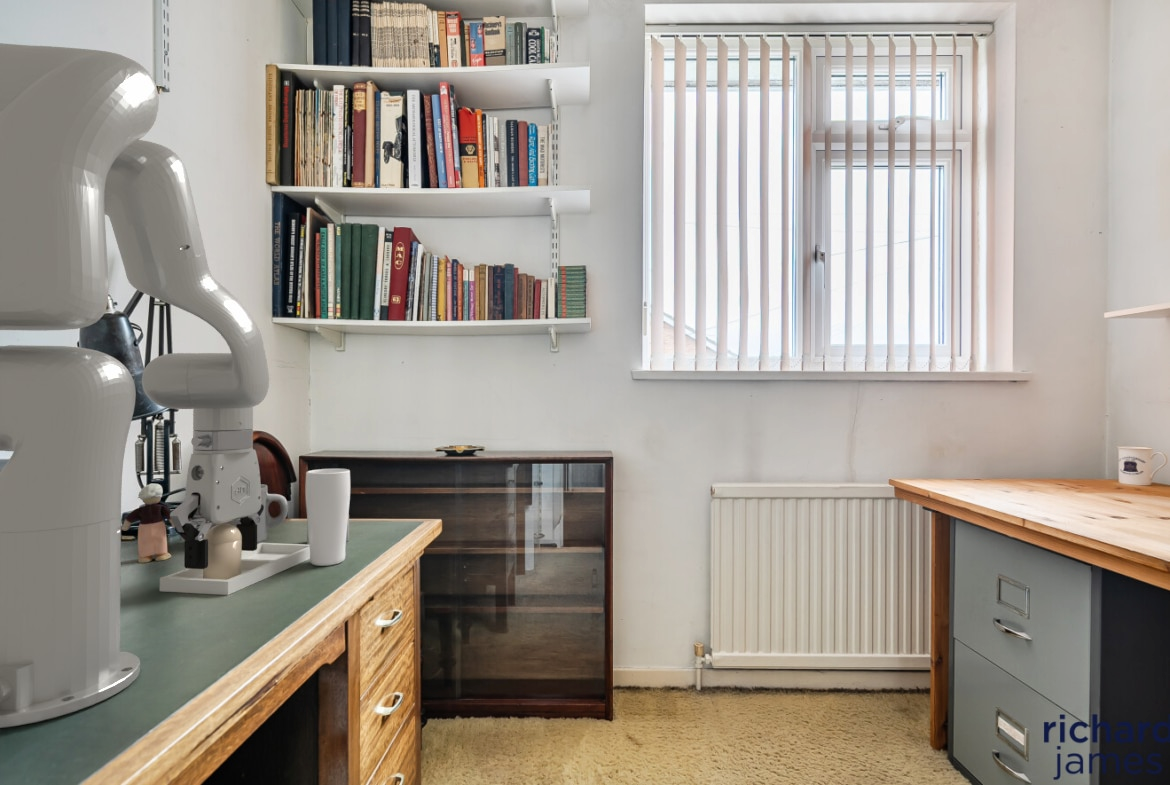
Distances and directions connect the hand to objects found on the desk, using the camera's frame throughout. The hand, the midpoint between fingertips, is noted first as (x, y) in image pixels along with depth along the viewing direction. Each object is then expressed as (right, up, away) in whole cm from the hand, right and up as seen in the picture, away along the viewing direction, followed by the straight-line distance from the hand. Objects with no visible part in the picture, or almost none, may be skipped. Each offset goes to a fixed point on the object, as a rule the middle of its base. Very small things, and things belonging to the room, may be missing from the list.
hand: (222, 558), depth 86 cm
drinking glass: (+11, -4, +10) cm, 15 cm away
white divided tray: (+1, -3, +5) cm, 6 cm away
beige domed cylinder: (0, -3, 0) cm, 3 cm away
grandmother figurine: (-19, -4, +11) cm, 22 cm away
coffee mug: (-11, -4, +25) cm, 28 cm away
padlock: (+5, -4, +24) cm, 25 cm away
